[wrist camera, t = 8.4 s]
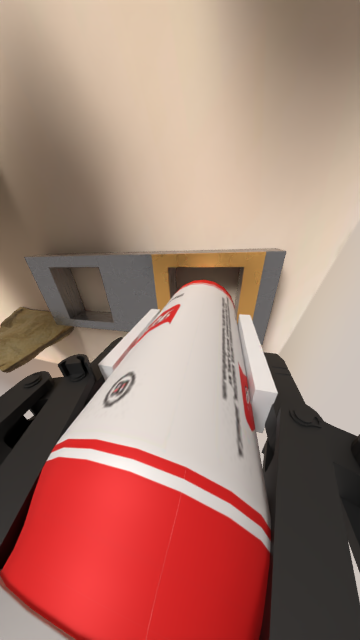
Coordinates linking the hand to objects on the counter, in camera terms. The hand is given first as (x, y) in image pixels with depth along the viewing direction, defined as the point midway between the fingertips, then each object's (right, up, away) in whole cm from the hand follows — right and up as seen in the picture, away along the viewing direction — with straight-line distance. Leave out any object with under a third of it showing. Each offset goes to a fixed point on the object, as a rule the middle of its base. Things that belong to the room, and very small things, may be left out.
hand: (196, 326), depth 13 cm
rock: (-26, +1, +17) cm, 31 cm away
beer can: (+1, +2, +4) cm, 5 cm away
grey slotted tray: (-6, +5, +9) cm, 12 cm away
